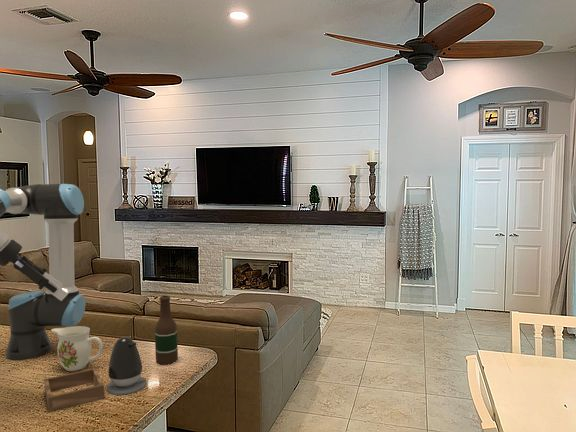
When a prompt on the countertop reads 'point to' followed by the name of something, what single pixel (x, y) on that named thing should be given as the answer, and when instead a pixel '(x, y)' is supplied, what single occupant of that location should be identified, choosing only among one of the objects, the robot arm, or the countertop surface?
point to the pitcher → (75, 347)
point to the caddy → (73, 396)
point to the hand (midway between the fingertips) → (62, 292)
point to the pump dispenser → (125, 363)
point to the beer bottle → (166, 335)
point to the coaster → (126, 390)
